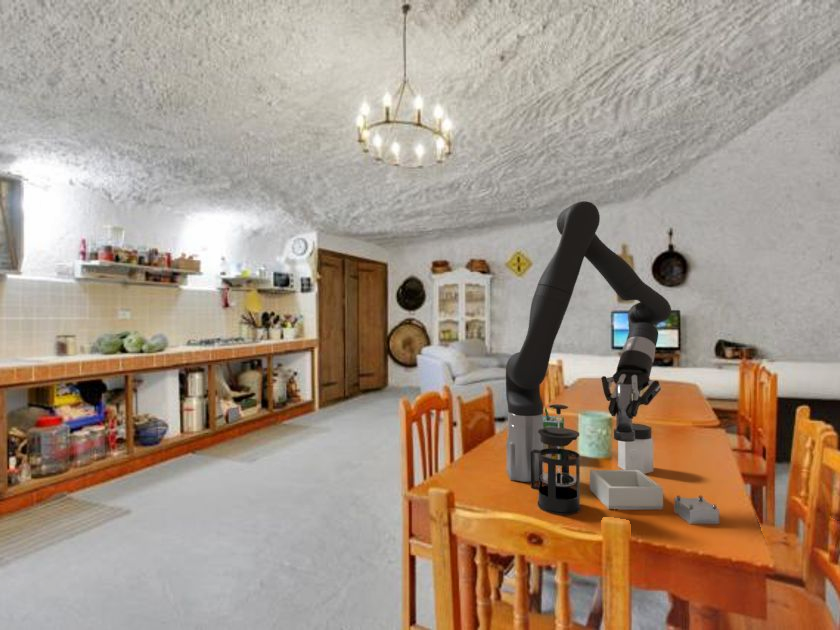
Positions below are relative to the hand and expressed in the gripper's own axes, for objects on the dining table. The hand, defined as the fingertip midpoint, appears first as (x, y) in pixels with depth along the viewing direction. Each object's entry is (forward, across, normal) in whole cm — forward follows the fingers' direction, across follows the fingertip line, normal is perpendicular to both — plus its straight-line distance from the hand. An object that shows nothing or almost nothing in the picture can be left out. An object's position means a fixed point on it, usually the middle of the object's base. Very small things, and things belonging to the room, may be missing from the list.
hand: (621, 415), depth 108 cm
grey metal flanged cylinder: (+3, 0, +6) cm, 6 cm away
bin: (+13, 0, +16) cm, 20 cm away
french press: (+23, -10, +6) cm, 26 cm away
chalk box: (-1, -28, +30) cm, 41 cm away
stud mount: (+13, +15, +15) cm, 25 cm away
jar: (-4, -4, +33) cm, 33 cm away
